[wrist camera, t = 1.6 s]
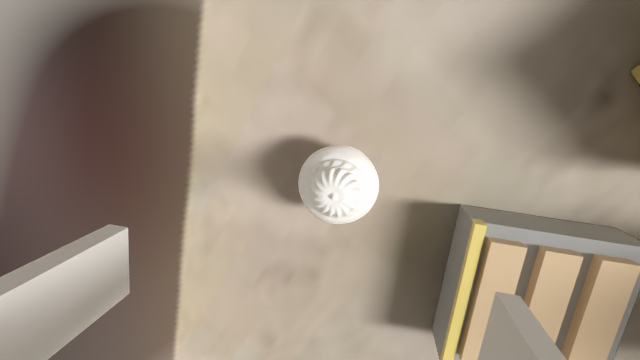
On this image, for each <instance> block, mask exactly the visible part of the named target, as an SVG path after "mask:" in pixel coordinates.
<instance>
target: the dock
mask: <svg viewBox="0 0 640 360" xmlns="http://www.w3.org/2000/svg"><path fill="white" fill-rule="evenodd" d="M639 291H640V241H639V240H637V239H636V238H634V237H632V236H630V235H628V234H627V233H625V232H623V231H621V230H619V229H617V228H613V227H606V226H600V225H593V224H586V223H580V222H573V221H566V220H560V219H553V218H547V217H540V216H533V215H527V214H520V213H513V212H507V211H500V210H494V209H487V208H480V207H474V206H467V205H460V207H459V212H458V216H457V221H456V225H455V229H454V234H453V238H452V243H451V247H450V252H449V256H448V260H447V265H446V269H445V274H444V278H443V283H442V287H441V292H440V296H439V300H438V305H437V309H436V314H435V318H434V323H433V327H432V331H433V335H434V339H435V343H436V347H437V351H438V355H439V359H440V360H478V356H479V352H480V349H481V345H482V341H483V337H484V333H485V330H486V326H487V322H488V318H489V315H490V311H491V307H492V303H493V299H494V296H495V292H501V293H506V294H512V295H518V296H520V297H521V298H522V299H523V301H524V302H525V303H526V305H527V306H528V308H529V309H530V310H531V312H532V313H533V314H534V316H535V317H536V319H537V320H538V321H539V323H540V324H541V325H542V327H543V328H544V329H545V331H546V332H547V334H548V335H549V336H550V338H551V339H552V340H553V342H554V343H555V345H556V346H557V347H558V349H559V350H560V351H561V353H562V354H563V356H564V357H565V358H566V360H613V359H614V356H615V353H616V351H617V348H618V346H619V343H620V340H621V338H622V335H623V333H624V330H625V327H626V325H627V322H628V320H629V317H630V314H631V312H632V309H633V307H634V304H635V301H636V299H637V296H638V293H639Z"/></svg>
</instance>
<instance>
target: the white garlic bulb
mask: <svg viewBox="0 0 640 360" xmlns="http://www.w3.org/2000/svg"><path fill="white" fill-rule="evenodd" d="M298 187H299V193H300V196H301V199H302V201H303V203H304V205H305V206H306V208H307V209H308V210H309V211H310V213H312V214H313V215H314V216H315V217H316V218H318V219H320V220H322V221H324V222H327V223H331V224H345V223H350V222H353V221H355V220H358V219H360V218H361V217H363V216H364V215H365V214H367V213H368V212H369V210H370V209H371V208H372V207H373V205H374V203H375V201H376V199H377V196H378V191H379V180H378V175H377V172H376V170H375V168H374V166H373V164H372V163H371V161H370V160H369V159H368V158H367V157H366V156H365V155H364V154H363V153H362V152H361V151H359V150H358V149H356V148H353V147H350V146H346V145H333V146H328V147H324V148H322V149H319V150H317V151H316V152H314V153H313V154H312V155H310V156H309V157H308V159H307V160H306V161H305V163H304V164H303V166H302V168H301V171H300V174H299V179H298Z"/></svg>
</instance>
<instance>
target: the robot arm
mask: <svg viewBox="0 0 640 360" xmlns="http://www.w3.org/2000/svg"><path fill="white" fill-rule="evenodd" d="M128 252H129V251H128V228H127V227H121V226H116V225H110V224H109V225H107V226H105V227H103V228H101V229H99V230H96V231H94V232H93V233H90V234H88V235H86V236H84V237H82V238H80V239H78V240H76V241H74V242H72V243H70V244H68V245H66V246H64V247H62V248H59V249H57V250H55V251H53V252H51V253H49V254H47V255H45V256H43V257H41V258H39V259H37V260H35V261H33V262H31V263H29V264H27V265H25V266H22V267H20V268H18V269H16V270H14V271H12V272H10V273H8V274H6V275H4V276H2V277H0V360H47V359H49V358H50V357H51V356H52V355H54V354H55V353H56V352H57V351H59V350H60V349H61V348H62V347H63V346H65V345H66V344H67V343H69V342H70V341H71V340H72V339H73V338H75V337H76V336H77V335H78V334H80V333H81V332H82V331H83V330H85V329H86V328H87V327H88V326H90V325H91V324H92V323H93V322H95V321H96V320H97V319H98V318H99V317H101V316H102V315H103V314H104V313H105V312H107V311H108V310H109V309H111V308H112V307H113V306H114V305H116V304H117V303H118V302H119V301H121V300H122V299H123V298H124V297H125V296H127V295H128V294H129V256H128V255H129V253H128ZM478 360H566V358H565V357H564V356H563V354H562V353H561V351H560V350H559V349H558V347H557V346H556V345H555V343H554V342H553V340H552V339H551V338H550V336H549V335H548V334H547V332H546V331H545V329H544V328H543V327H542V325H541V324H540V323H539V321H538V320H537V319H536V317H535V316H534V314H533V313H532V312H531V310H530V309H529V308H528V306H527V305H526V303H525V302H524V301H523V299H522V298H521V297H520V296H518V295H512V294H506V293H501V292H495V296H494V299H493V303H492V307H491V311H490V315H489V318H488V322H487V326H486V330H485V333H484V337H483V341H482V345H481V349H480V352H479V356H478Z"/></svg>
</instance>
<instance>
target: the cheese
mask: <svg viewBox="0 0 640 360" xmlns="http://www.w3.org/2000/svg"><path fill="white" fill-rule="evenodd" d="M631 73H632V75H633V76H634V78H635V79H636V80H637V82H638V83H639V85H640V65H638V66H637V67H635V68H634V69H633V70H631Z"/></svg>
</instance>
